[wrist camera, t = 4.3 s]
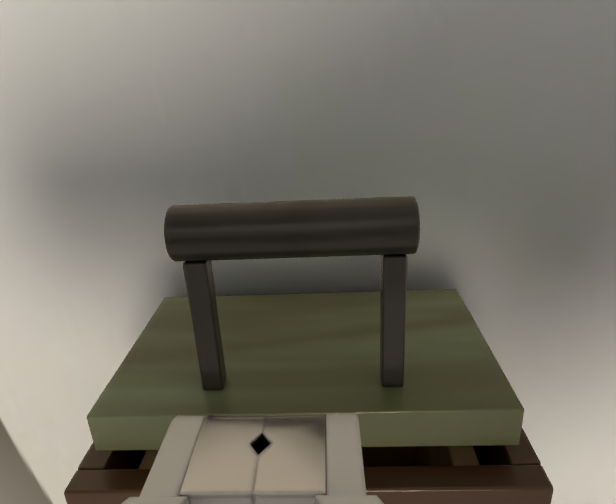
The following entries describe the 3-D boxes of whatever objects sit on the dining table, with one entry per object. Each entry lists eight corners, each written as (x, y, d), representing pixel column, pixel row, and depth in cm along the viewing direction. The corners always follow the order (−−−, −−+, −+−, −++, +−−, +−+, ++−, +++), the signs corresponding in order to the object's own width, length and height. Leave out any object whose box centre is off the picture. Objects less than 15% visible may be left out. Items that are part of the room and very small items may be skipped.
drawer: (140, 163, 17) (32, 227, 11) (467, 149, 17) (554, 208, 10) (208, 537, 24) (167, 707, 18) (438, 536, 24) (479, 711, 17)
